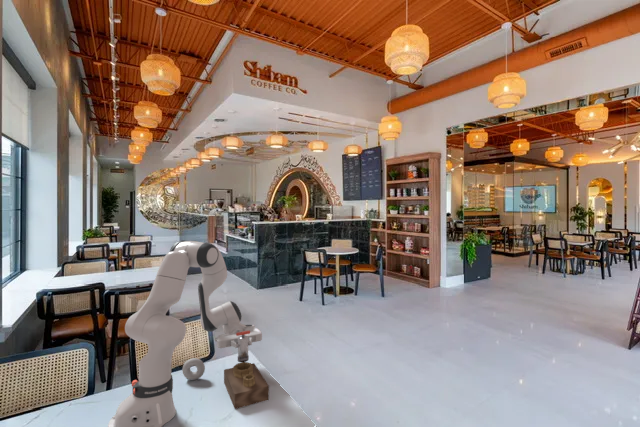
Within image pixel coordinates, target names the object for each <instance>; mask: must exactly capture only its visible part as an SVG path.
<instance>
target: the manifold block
mask: <svg viewBox="0 0 640 427" xmlns="http://www.w3.org/2000/svg"><path fill="white" fill-rule="evenodd" d="M223 384H224V386H225V389H226V392H227V393H228V396H229V398H230V401H231V403H232V406H233V408H234V410H237V409H241V408H244V407H245V408H246V407H247V406H251V405H255V404H258V403H263V402H265V401H269V398H270V396H269V395H270V392H269V391H270V385H269V384H268V382H267V381H266V379H265V378H264V376H263V374H262V373H261V371H260V370H259V368H258V367H257V365H256V363H254V362H253V363H251V362H248V361H246V362H238V363H236V364H235V365H234V366H233V367H231V368H225V369H223Z"/></svg>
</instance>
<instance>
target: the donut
mask: <svg viewBox="0 0 640 427" xmlns="http://www.w3.org/2000/svg"><path fill="white" fill-rule="evenodd" d="M205 366H206V365H205V363H204V361H203V360H202V359H199V358H198V357H197V358H196V357H193V358H190V359H187V360H186V361H185V362H184V363H183V365H182V374H183V376H184V377H185V379H187V380H189V381H195V380H198V379H200V378H201V377H202V376H203V375H204V373H205V370H206V367H205ZM191 367H195V368H196V371H192V370H191Z"/></svg>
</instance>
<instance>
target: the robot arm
mask: <svg viewBox="0 0 640 427" xmlns="http://www.w3.org/2000/svg"><path fill="white" fill-rule="evenodd" d="M190 267H191V268H200V270H201V275H202V278H201V280H200V282H199V284H198V288H197V289H198V292H197V294H198V301H199V310H200V311H199V312H200V324H201V327H202V329H203V330H204V331H206V332H211V333H212V332H214V331H216V330H218V329H219V328H221V327H222V331H223V333H224V334H219V335H218V336H217V337H215V338H214V341H215V342H216V343H217V344H216V345H217V348H218V349H224V348H231V347H233V348H235V349H238V347H239V343H238V337H240V336H242V335H239V336H236V333H237V332H243V331H249V330H250V334H245V336H248V347H249V346H252V345H253V344H252V343H257V342H261V341H262V340H263V333H262V331H261V330H260V329H259V328H257V327H255V326H256V325H255V324H243V323H241V321H242V316H243V315H242V313H241V310H240V308H239V306H238V305H237V303H236V302H234V301H231V300H229V301H226V302H224V303H222V304H220V305H218V306H215V307H213V308H210V300H209V299H210V296H211V295H212V294H213V293H214V292H215V291H216V290H217V289H219V287H221V286H222V285H223V284H224V283H225V281H226V279H227V277H228V269H227V265H226V262H225V259H224V257H223V255H222V252H221V250H220V249H219V248H218V247H217V246H216V245H214V244H213V243H210V242H202V241H196V240H180V241H176V242H175V243H174V244H172V245H171V247H170V249H169V252H167V253H166V254H165V256H164V257H163V260H162V261H161V263H160V265H159V268H158V270H157V273H156V275H155V279H154V282H153V284H152V288H151V290H150V292H149V295H148V297H147V299H146V301H144V304H142V306H141V307H140V308H139V309H138V310H137V311H136V312H135V313H133V314H132V315H130V316H129V317H128V319H127V320H126V321H125V325H124V332H125V334H126V336H128V337H129V338H130V339H132V340H134V341H136V342H138V343H139V342H140V343H142V344H146V345H147V347H148V349H147V350H148V351H147V353H146V354H145V355H144V356H143V357H142V358H141V359H140V360H139V363H138V380H137V379H134V380H132V381H131V387H132V393H131V394H130V395H129V396H126V398H125V399H124V400H122V401H121V402H120V403H119V405H118V407H117V409H116V412H115V414H114V415H113V416H112V417H111V418H110V420H109V421H108V423H107V427H163V426H164V425H165V424H167V423H168V422H170V421H171V420H172V419H173V418H174V417H175V416H176V413H177V409H176V406H175V402H174V397H173V389H174V379H173V375H172V361H173V354H174V351H175V349H176V348H177V346H179V345H180V344H181V343H182V342H183V341H184V338H185V336H186V333H187V327H186V324H185V323H184V321H182V320H180V319H178V318H176V317H174V316H171V315H167V313H168V312H169V310H170V308H171V307H172V306H173V305H176V304H177V303H178V302H179V301H181V297H182V294H183V291H184V287H185V283H186V280H187V278H188V271H189V269H190Z"/></svg>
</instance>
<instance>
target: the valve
mask: <svg viewBox="0 0 640 427" xmlns="http://www.w3.org/2000/svg"><path fill="white" fill-rule="evenodd" d="M245 334H250V330H249V331H243V332H237V333H236V336H239V335H242V336H240V337H238V343H239V347H238V348H237V362H238V363H242V362H248V361H249V357H250V356H249V346H248V336H245Z"/></svg>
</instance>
